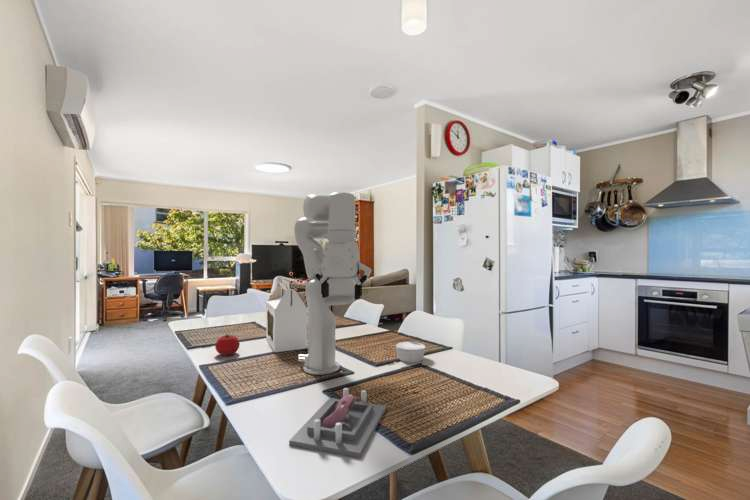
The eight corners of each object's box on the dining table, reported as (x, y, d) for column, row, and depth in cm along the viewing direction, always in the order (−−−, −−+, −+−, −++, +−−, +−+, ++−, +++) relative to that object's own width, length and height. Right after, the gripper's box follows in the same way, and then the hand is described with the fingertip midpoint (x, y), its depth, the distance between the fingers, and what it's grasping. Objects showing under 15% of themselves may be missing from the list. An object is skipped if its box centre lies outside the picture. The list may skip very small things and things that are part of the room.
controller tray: (289, 445, 75) (289, 421, 75) (329, 401, 96) (329, 383, 96) (359, 457, 70) (360, 433, 70) (386, 409, 92) (386, 390, 92)
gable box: (266, 339, 160) (266, 278, 159) (295, 336, 165) (295, 277, 165) (274, 352, 140) (275, 283, 139) (307, 348, 145) (307, 281, 145)
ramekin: (430, 357, 135) (430, 344, 135) (417, 366, 126) (417, 351, 126) (404, 352, 141) (404, 340, 141) (390, 360, 132) (390, 346, 132)
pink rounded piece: (336, 438, 78) (350, 412, 78) (319, 427, 79) (332, 401, 79) (350, 417, 88) (362, 394, 87) (334, 407, 89) (346, 384, 88)
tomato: (210, 356, 134) (210, 336, 134) (224, 350, 142) (225, 330, 142) (230, 358, 132) (230, 337, 132) (244, 351, 140) (244, 332, 140)
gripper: (307, 236, 97) (307, 298, 97) (367, 236, 92) (366, 301, 92) (319, 237, 104) (318, 294, 104) (374, 237, 99) (374, 297, 99)
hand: (341, 297), depth 98 cm, fingers open, 9 cm apart
